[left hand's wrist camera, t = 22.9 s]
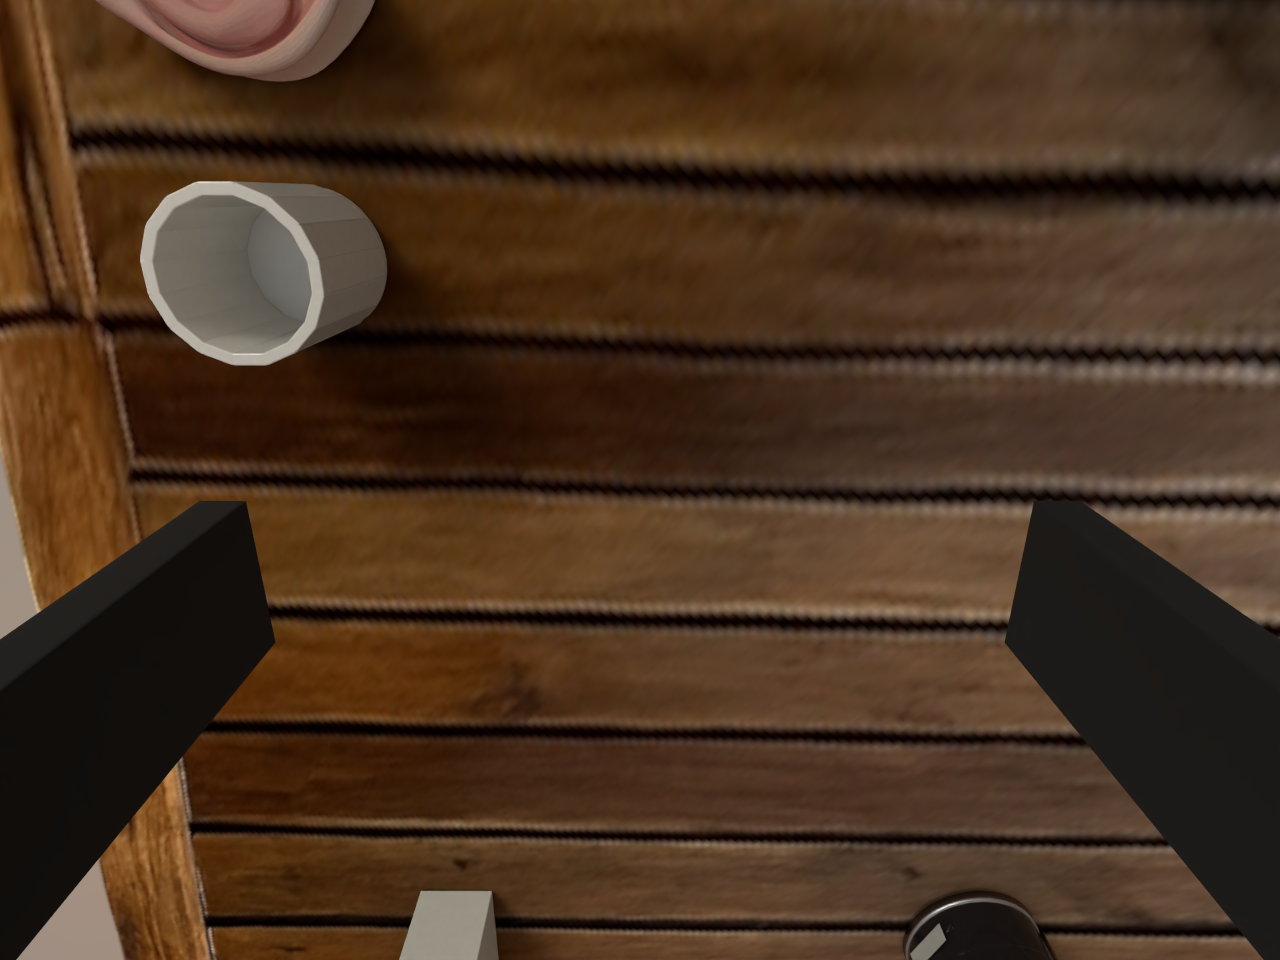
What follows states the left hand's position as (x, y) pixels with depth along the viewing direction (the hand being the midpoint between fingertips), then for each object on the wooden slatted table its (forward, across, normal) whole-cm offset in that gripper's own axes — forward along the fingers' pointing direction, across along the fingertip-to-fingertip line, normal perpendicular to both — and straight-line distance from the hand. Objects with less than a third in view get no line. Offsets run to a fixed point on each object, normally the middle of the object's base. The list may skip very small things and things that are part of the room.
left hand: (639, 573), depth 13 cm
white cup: (+27, +16, -3) cm, 31 cm away
